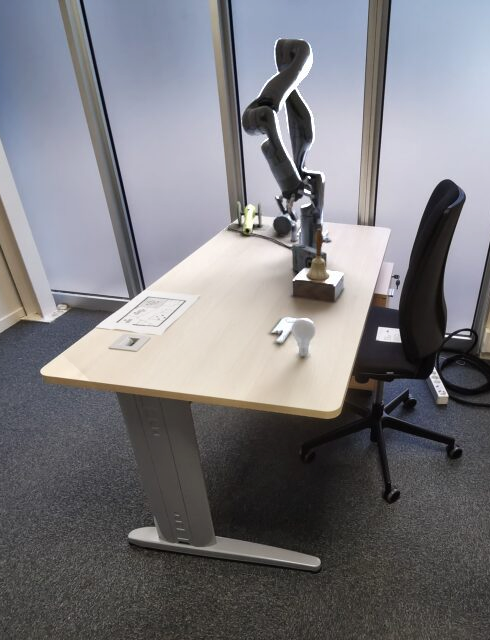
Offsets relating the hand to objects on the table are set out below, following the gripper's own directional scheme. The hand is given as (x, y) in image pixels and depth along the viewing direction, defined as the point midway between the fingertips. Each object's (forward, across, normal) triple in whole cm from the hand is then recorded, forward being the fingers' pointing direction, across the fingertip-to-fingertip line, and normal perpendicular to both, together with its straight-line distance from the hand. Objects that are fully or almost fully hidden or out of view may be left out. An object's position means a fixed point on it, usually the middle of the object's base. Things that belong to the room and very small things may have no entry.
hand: (305, 213), depth 156 cm
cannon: (+30, +18, -67) cm, 76 cm away
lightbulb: (+2, +27, +56) cm, 63 cm away
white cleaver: (+4, +29, +41) cm, 50 cm away
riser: (+18, +11, +18) cm, 28 cm away
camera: (+22, +10, 0) cm, 24 cm away
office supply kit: (+41, -5, -56) cm, 69 cm away
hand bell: (+13, +8, +17) cm, 23 cm away
